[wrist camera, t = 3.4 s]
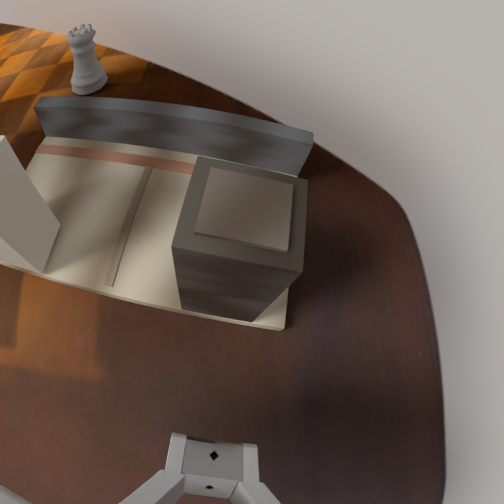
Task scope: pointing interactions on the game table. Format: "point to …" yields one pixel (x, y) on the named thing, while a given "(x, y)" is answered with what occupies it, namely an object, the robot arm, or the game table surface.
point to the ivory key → (23, 216)
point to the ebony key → (238, 238)
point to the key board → (140, 189)
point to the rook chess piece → (85, 62)
